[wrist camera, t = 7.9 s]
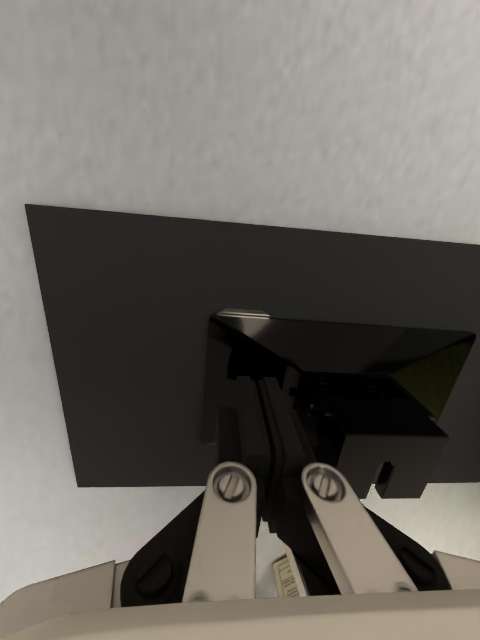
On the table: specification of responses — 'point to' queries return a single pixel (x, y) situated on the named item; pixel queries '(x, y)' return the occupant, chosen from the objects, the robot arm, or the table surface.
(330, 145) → the table surface
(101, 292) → the desk mat
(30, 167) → the table surface
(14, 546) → the table surface
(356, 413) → the build plate
